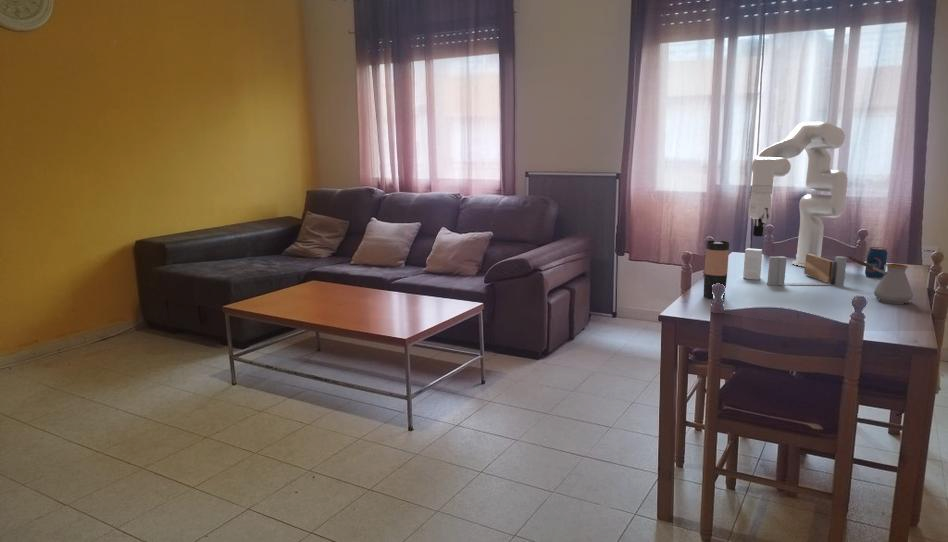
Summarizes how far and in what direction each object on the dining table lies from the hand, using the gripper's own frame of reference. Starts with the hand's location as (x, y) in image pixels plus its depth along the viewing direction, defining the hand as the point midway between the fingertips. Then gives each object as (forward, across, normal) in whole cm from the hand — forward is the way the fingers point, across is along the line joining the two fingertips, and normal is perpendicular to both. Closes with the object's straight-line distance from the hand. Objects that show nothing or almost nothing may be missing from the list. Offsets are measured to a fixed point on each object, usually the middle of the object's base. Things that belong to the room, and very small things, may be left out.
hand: (757, 235), depth 259 cm
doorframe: (+17, +12, +15) cm, 26 cm away
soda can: (+17, -2, +50) cm, 53 cm away
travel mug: (+18, +31, -28) cm, 45 cm away
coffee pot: (+18, +36, +27) cm, 49 cm away
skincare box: (+18, 0, -1) cm, 18 cm away
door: (+17, +3, +25) cm, 30 cm away
